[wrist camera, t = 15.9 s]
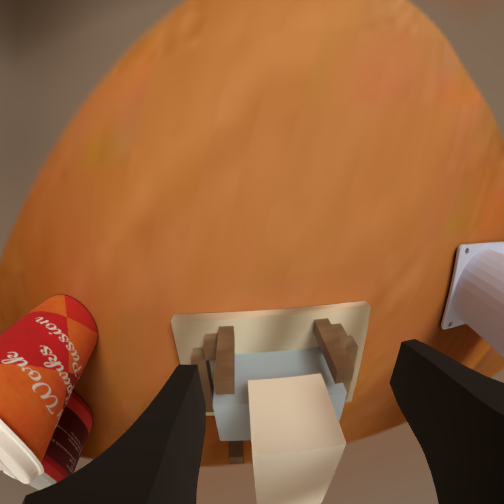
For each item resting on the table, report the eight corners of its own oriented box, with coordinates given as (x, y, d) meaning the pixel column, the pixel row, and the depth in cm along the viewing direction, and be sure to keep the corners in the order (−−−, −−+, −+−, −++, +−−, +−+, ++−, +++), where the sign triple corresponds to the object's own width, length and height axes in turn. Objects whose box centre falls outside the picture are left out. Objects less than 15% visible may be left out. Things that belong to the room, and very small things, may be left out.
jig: (365, 300, 20) (406, 350, 14) (348, 394, 23) (370, 446, 17) (173, 314, 20) (151, 374, 13) (194, 407, 23) (187, 465, 16)
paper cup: (121, 363, 21) (61, 503, 8) (54, 357, 21) (-16, 463, 7) (94, 278, 18) (-28, 411, 5) (25, 281, 18) (-83, 373, 5)
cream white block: (308, 448, 17) (321, 503, 12) (253, 453, 17) (257, 510, 12) (321, 373, 14) (346, 443, 10) (247, 380, 14) (252, 456, 10)
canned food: (33, 398, 23) (-4, 461, 12) (42, 365, 21) (-9, 439, 11) (85, 434, 24) (58, 502, 14) (103, 408, 23) (69, 493, 12)
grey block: (326, 346, 20) (347, 392, 15) (321, 384, 21) (336, 429, 16) (216, 354, 20) (212, 404, 15) (222, 392, 21) (220, 440, 16)
